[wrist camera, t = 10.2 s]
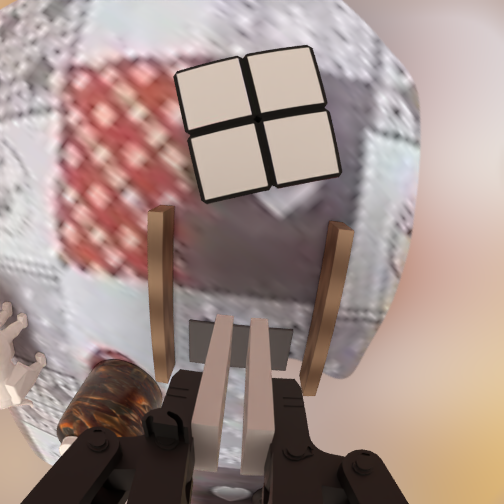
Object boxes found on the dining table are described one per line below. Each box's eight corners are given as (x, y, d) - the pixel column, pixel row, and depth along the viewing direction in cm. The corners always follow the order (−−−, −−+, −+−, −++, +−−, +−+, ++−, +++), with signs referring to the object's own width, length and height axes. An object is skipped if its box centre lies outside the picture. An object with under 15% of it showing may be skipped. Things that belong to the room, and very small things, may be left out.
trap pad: (285, 368, 36) (285, 370, 36) (190, 359, 36) (189, 361, 35) (292, 329, 34) (293, 331, 34) (189, 319, 34) (189, 321, 34)
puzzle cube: (316, 171, 29) (344, 176, 20) (219, 192, 30) (201, 206, 20) (294, 78, 26) (311, 42, 17) (197, 98, 27) (170, 71, 18)
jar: (79, 358, 37) (29, 425, 22) (147, 357, 36) (106, 443, 22) (109, 414, 40) (77, 481, 26) (173, 417, 39) (151, 497, 25)
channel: (310, 375, 36) (315, 396, 32) (164, 362, 36) (155, 381, 32) (342, 222, 31) (354, 230, 27) (160, 205, 30) (147, 211, 26)
